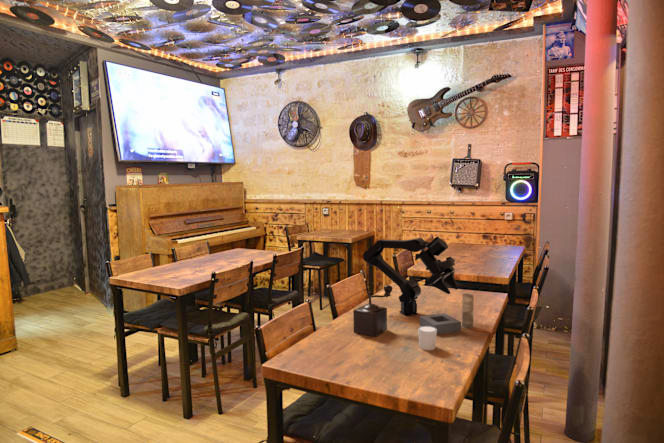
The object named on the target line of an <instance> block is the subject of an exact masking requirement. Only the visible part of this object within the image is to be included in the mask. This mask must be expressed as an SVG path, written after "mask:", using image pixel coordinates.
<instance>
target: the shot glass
mask: <svg viewBox="0 0 664 443" xmlns="http://www.w3.org/2000/svg"><path fill="white" fill-rule="evenodd" d="M417 332H418V333H417V334H418V344H419V345H418V347H419V348H420V350H424V351H433V350H435V349H436V343H437V329H436V328H434V327H431V326H419V327H418V328H417Z"/></svg>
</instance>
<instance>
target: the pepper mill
mask: <svg viewBox="0 0 664 443" xmlns="http://www.w3.org/2000/svg"><path fill="white" fill-rule="evenodd" d="M383 290H384V294H383V295H377V294H376V295H375V294H374V295H372V291H370V290H369V291H368V295H367V296H368V303H366V304H364V305H362V306H359V307H358V308H355V309H353V311H352V312H353V333H356V334H359V335H364V336H367V337H372V338H377V337H378V336H380V335H382V334H383V333H384V332H386V331H387V330H388V309H387V307H385V306H379V305H378V304H375V303H372V298H388V297H391V296H392V295H391V292H392V291H393V286H392V285H390V284H385V285H384V286H383Z"/></svg>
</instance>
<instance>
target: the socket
mask: <svg viewBox="0 0 664 443" xmlns="http://www.w3.org/2000/svg"><path fill="white" fill-rule="evenodd" d="M421 326H431V327H434V328H436V329H437V335H444V334H450V333H453V334H454V333H459V332H462V321H461V320H458V319H457V318H455V317H453V316H451V315H449V314H447V313H446V312H443V313H435V314H425V315H419V327H421ZM437 335H436V336H437Z"/></svg>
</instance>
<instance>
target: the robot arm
mask: <svg viewBox="0 0 664 443" xmlns="http://www.w3.org/2000/svg"><path fill="white" fill-rule="evenodd" d="M448 248H449V246H448V243H447V242H446V241H445V240H444V239H443V238H441V237H440V236H439V235H438V236H436V237H434V238H433V240H431V241H425V239H424V238H422V237H415V238H411V239H406V240H405V239H404V240H403V239H384V238H381V239H378V240H376V241H375V242H374V244H372V246H370V248H368V249H367V250H364V252H363V253H362V259H363V261H364V262H366V263H367V264H369V266H373V267H376V268H377V269H379V270H380V271H381V272H382V273H383V274H384V275H385V277H388V278H389V279H390V280H391V281H392V282H393V283H394V284H396V286H398V288H399V290H400V293H401V295H399V296H398V301H399V302H400V310H399V311H398V312H399V313H400V314H402V315H404V316H406V317H408V316H415V315H418V314H419V313H418V303H417V299H418V297H419V296H420V295H421V294H422V288H421V287H420V284H419V283H418V282H416V281H415V279H413V278H411V279H407V278H405V277H404V276H403V275H402V274H400V273H399V272H398V271H397V270H396V269H395V268H394V267H392V265H390V264H389V262H387V261H386V260H385V259H384V257H383V255H382V253H383V251H384V249H399V250H400V249H401V250H406V251H408V252H412V253H415V255H414V257H415V258H414V260H415V261H417V260H420V261H421V262H422V263H423V265H424V266H425V270H426V271H429V272H430V274H431V275H430V276H429V277H427V278H426V283H427V285H428V286H431V287H434V288H435V289H438V290H440V291H442V292H443V293H446V294H447V295H450V294H451V291H450V289H449V288H448V286H447V284H448V285H449V286H451V287H452V288H453V289H454V290H458V289H459V287H458V284H457V281H456V279H455V273H456V272H455V270H456V269H455V268H454V266H456V264H455V261H456V260H455V259H454V258H453V257H452V256H448V257H446V258H445V260H441V259H437V257H439V256H440V255H441V254H442V253H444V252H445V251H446V250H447V249H448ZM425 249H426V250H425ZM417 252H419V253H417Z"/></svg>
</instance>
